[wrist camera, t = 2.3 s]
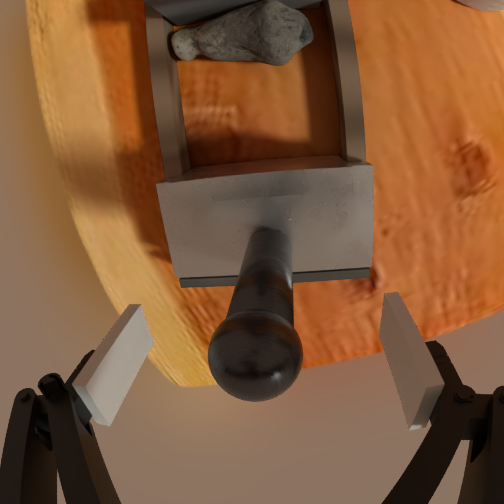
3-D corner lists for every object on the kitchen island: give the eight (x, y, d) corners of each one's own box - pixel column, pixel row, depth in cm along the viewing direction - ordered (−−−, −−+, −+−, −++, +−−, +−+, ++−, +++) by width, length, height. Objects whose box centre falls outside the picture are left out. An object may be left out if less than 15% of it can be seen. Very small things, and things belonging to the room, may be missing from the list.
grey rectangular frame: (155, 5, 20) (106, -28, 12) (336, -19, 18) (355, -68, 10) (193, 268, 31) (162, 323, 22) (359, 259, 28) (383, 314, 20)
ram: (173, 170, 26) (32, 256, 10) (359, 154, 24) (478, 225, 8) (189, 257, 30) (102, 403, 13) (360, 247, 28) (430, 402, 11)
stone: (178, 65, 24) (207, 110, 20) (156, 18, 19) (181, 51, 15) (277, 26, 24) (325, 63, 20) (267, -21, 19) (322, 4, 15)
